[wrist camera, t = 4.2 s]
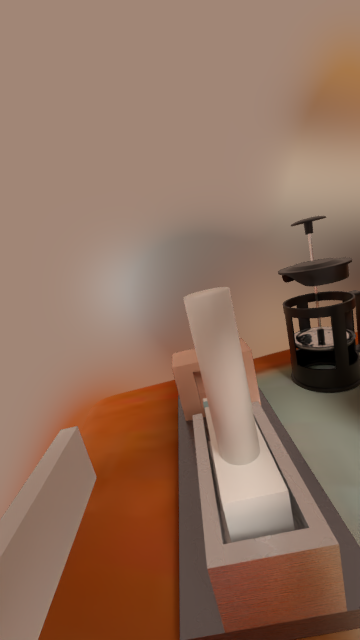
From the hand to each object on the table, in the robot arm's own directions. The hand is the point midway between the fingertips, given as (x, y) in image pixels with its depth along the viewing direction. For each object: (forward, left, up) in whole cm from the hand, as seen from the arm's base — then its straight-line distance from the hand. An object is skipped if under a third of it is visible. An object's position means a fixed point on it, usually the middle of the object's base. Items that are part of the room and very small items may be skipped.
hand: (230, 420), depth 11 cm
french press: (-18, -26, -15) cm, 35 cm away
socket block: (-1, -23, -13) cm, 26 cm away
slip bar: (-1, -9, -11) cm, 14 cm away
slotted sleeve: (-1, -14, -15) cm, 20 cm away
